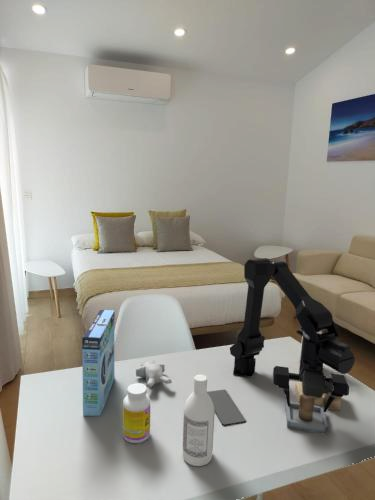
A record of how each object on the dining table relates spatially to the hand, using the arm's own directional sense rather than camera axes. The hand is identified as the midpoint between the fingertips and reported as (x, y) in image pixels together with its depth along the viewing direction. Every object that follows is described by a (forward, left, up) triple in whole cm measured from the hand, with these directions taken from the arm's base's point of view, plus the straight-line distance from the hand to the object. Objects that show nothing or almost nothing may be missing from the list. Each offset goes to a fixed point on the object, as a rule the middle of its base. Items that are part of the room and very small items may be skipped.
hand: (306, 408), depth 98 cm
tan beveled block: (+2, +11, -4) cm, 12 cm away
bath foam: (-26, -20, -4) cm, 33 cm away
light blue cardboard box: (-58, -4, -4) cm, 58 cm away
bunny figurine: (-46, +8, -4) cm, 46 cm away
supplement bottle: (-42, -17, -4) cm, 45 cm away
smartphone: (-22, 0, -4) cm, 22 cm away
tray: (0, 0, -4) cm, 4 cm away
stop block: (+8, +11, -4) cm, 14 cm away
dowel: (0, 0, -3) cm, 3 cm away
